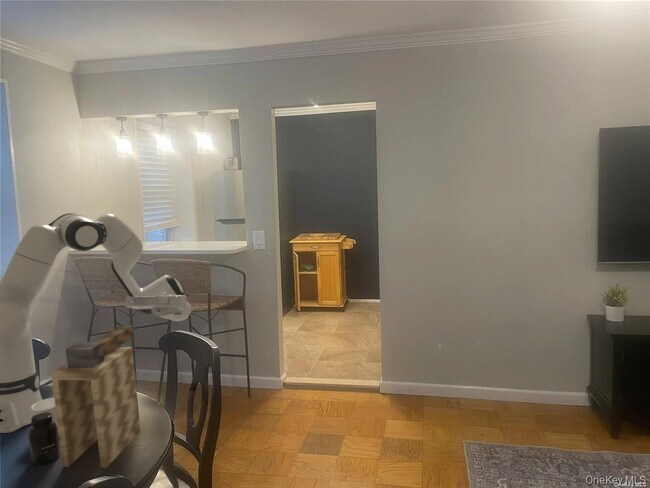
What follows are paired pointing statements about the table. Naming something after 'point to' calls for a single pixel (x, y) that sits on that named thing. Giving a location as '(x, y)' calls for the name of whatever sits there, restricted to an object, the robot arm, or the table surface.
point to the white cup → (45, 408)
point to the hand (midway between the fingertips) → (144, 298)
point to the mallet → (97, 348)
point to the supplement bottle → (43, 439)
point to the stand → (97, 407)
